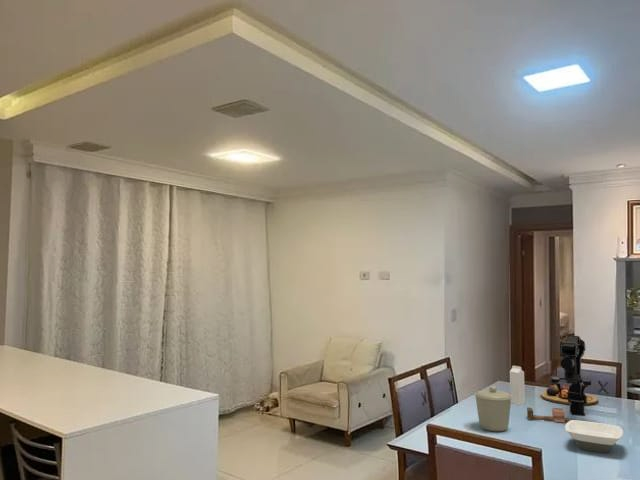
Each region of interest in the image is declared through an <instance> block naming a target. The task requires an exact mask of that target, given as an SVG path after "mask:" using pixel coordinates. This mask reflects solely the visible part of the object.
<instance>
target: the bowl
mask: <svg viewBox="0 0 640 480" xmlns="http://www.w3.org/2000/svg"><path fill="white" fill-rule="evenodd" d="M564 429H565V431H566V432H567V434H569V436H570V437H571V438H572V439H573V440H574V441H575V443H576V444H577V446H578V447H579V448H580V449H581V450H585V451H590V452H596V453H602V454H603V453H604V454H607V453H609V451H610V450H611V449H612V447H613V446H614V444H616V443H617V442H618V441H619V440H620V439H621V438H622V437H623V435H624V431H623V429H622V427H621V426H619V425H614V424H608V423H601V422H595V421H586V420H576V419H570V421H569V422H567V423H565V426H564Z"/></svg>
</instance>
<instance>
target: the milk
mask: <svg viewBox="0 0 640 480" xmlns="http://www.w3.org/2000/svg"><path fill="white" fill-rule="evenodd" d="M525 390H526V389H525V371H524V370H523V369H522V367H521V366H518V365H512V366H511V369H510V370H509V395H511V396H512V399H511V405H512V404H513V405H517V406H522V405H525V404H526V395H525V394H526V393H525V392H526V391H525Z"/></svg>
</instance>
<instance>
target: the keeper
mask: <svg viewBox="0 0 640 480" xmlns="http://www.w3.org/2000/svg"><path fill="white" fill-rule="evenodd" d="M551 409H552V417H554V422H553V423H563V424H564V423H565V418H566V417H565V416H566V414H565V413H566V412H565V410H564V409H563V407H562V408H560V407H559V408H558V407H552V408H551ZM565 424H566V423H565Z"/></svg>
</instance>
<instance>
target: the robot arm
mask: <svg viewBox="0 0 640 480" xmlns="http://www.w3.org/2000/svg"><path fill="white" fill-rule="evenodd" d="M586 349H587V347H586V343H585V340H583V339H582V338H581V336H579V335H569V339H567V341H562V343H561V344H560V357H563V358H562V359H561V360H560V367H562V369H563V372H564V373H563V374H564V376H563V377H560V376H559V375H551V376H550V382H551V383H553V385H556V386H557V387H558V389H559V392H560V395H561V396H562V392H561V387H562V385H561V382H565V383H566V384H569V386H568V387H569V391H568V402H571V404H569V405H568V406H569V412H570V414H571V415H574V416H586V414H585V405H584V404H587V398H586V395H585V394H586V393H585V390H586V388H588V387H589V386H592V379H591V378H589V377H582V358H583V356H584V355H585V351H586ZM583 400H584V401H583Z"/></svg>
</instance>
